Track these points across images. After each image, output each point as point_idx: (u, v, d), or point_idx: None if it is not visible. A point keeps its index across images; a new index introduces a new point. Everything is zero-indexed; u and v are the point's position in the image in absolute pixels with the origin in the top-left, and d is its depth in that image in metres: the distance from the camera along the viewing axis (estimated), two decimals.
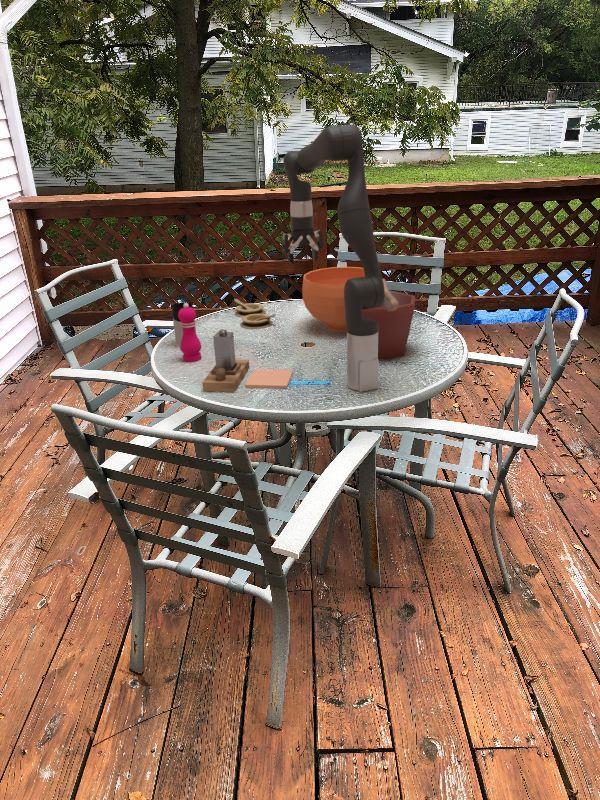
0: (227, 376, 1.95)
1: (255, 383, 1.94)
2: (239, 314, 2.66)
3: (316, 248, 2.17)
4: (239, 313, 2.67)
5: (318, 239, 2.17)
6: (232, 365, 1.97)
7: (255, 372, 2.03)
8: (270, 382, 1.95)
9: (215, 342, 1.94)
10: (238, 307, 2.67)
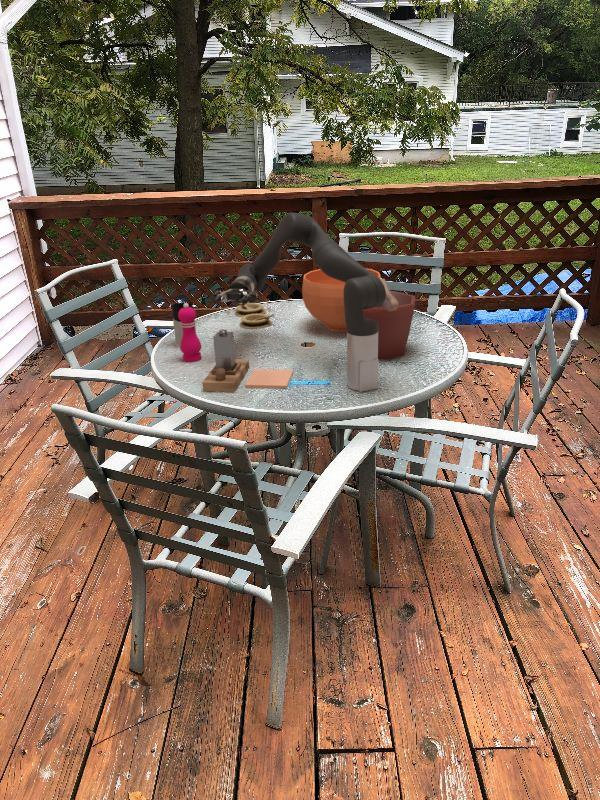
0: (227, 376, 1.95)
1: (255, 383, 1.94)
2: (239, 314, 2.66)
3: None
4: (239, 313, 2.67)
5: None
6: (232, 365, 1.97)
7: (255, 372, 2.03)
8: (270, 382, 1.95)
9: (215, 342, 1.94)
10: (238, 307, 2.67)
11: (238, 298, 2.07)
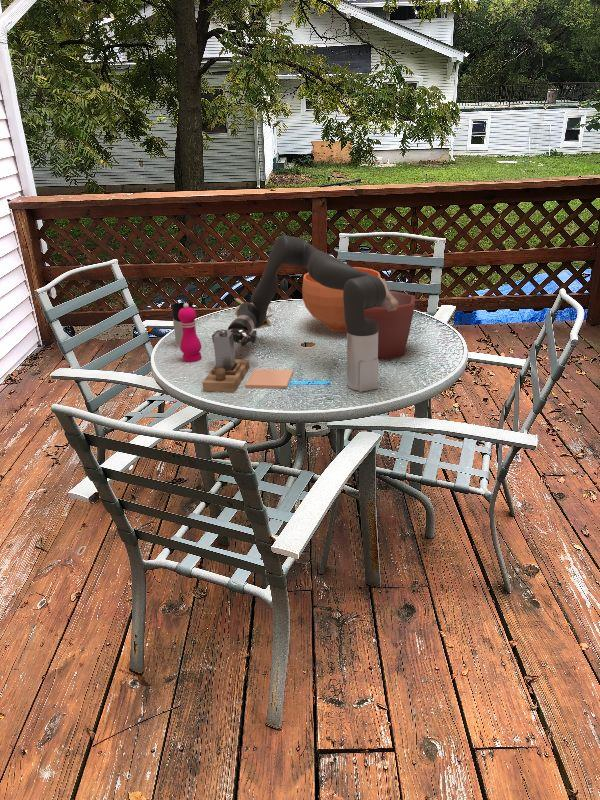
0: (227, 376, 1.95)
1: (255, 383, 1.94)
2: None
3: (246, 335, 2.05)
4: None
5: None
6: (232, 365, 1.97)
7: (255, 372, 2.03)
8: (270, 382, 1.95)
9: (215, 342, 1.94)
10: (238, 306, 2.68)
11: (238, 339, 2.08)
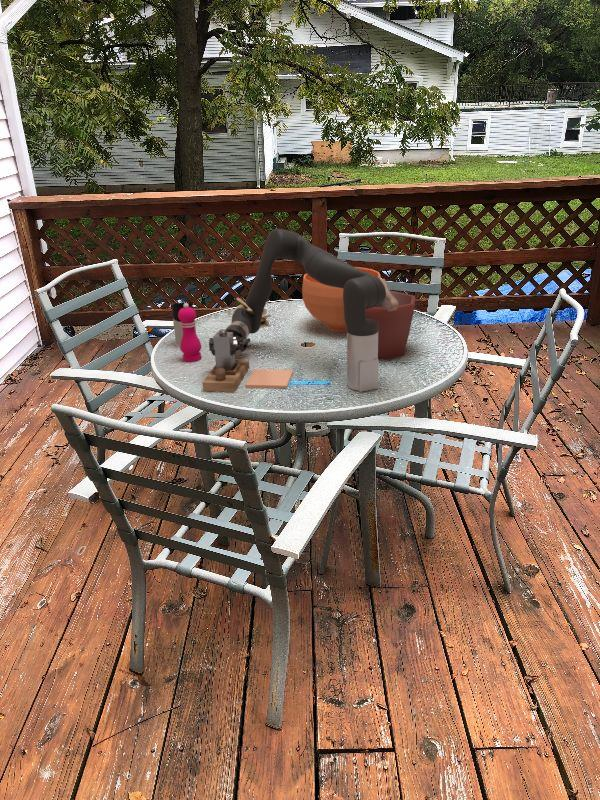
0: (227, 376, 1.95)
1: (255, 383, 1.94)
2: None
3: (235, 344, 1.98)
4: None
5: None
6: (232, 365, 1.97)
7: (255, 372, 2.03)
8: (270, 382, 1.95)
9: (215, 342, 1.94)
10: (239, 306, 2.68)
11: None
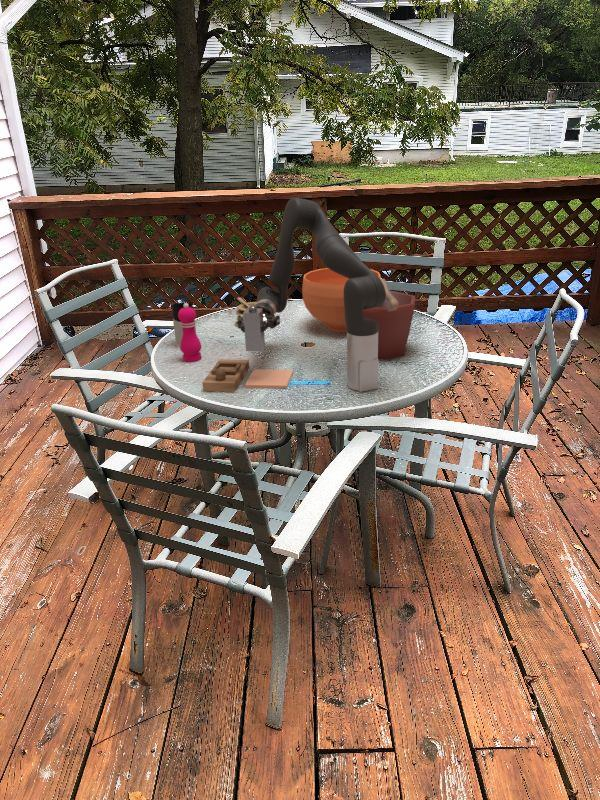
0: (227, 376, 1.95)
1: (255, 383, 1.94)
2: (239, 312, 2.67)
3: (264, 320, 1.93)
4: (240, 311, 2.69)
5: None
6: (262, 342, 1.92)
7: (255, 372, 2.03)
8: (270, 382, 1.95)
9: (245, 318, 1.88)
10: (239, 305, 2.69)
11: None
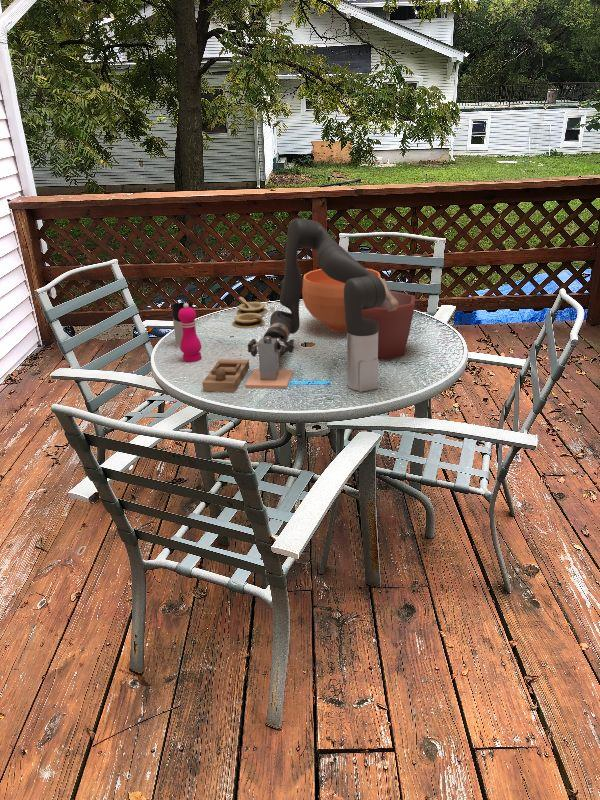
0: (227, 376, 1.95)
1: (255, 383, 1.94)
2: (240, 312, 2.68)
3: (283, 345, 1.96)
4: (241, 311, 2.70)
5: (289, 345, 1.99)
6: (276, 372, 1.96)
7: (255, 372, 2.03)
8: (270, 382, 1.95)
9: (260, 349, 1.92)
10: (240, 305, 2.70)
11: None
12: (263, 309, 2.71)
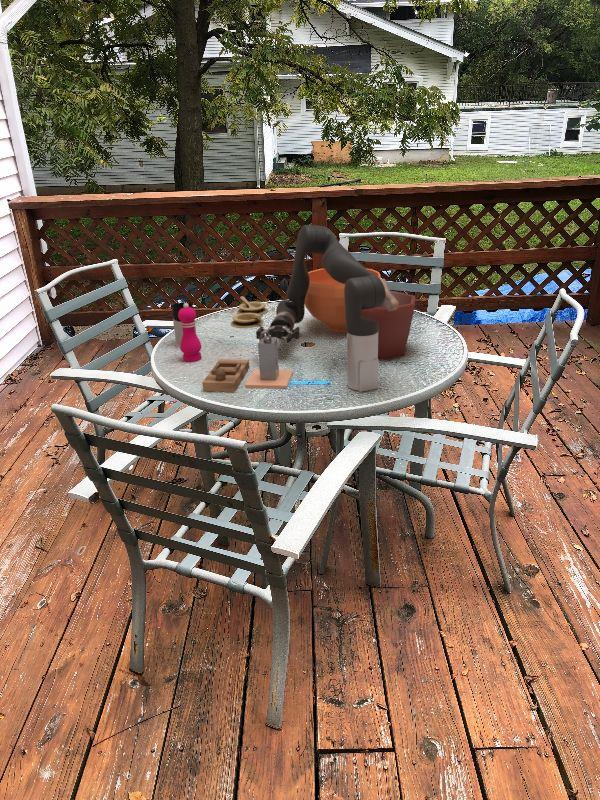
0: (227, 376, 1.95)
1: (255, 383, 1.94)
2: (240, 312, 2.69)
3: (290, 332, 2.08)
4: (241, 311, 2.70)
5: (295, 332, 2.10)
6: (276, 372, 1.96)
7: (255, 372, 2.03)
8: (270, 382, 1.95)
9: (260, 349, 1.92)
10: (241, 305, 2.70)
11: (281, 335, 2.10)
12: (264, 309, 2.71)
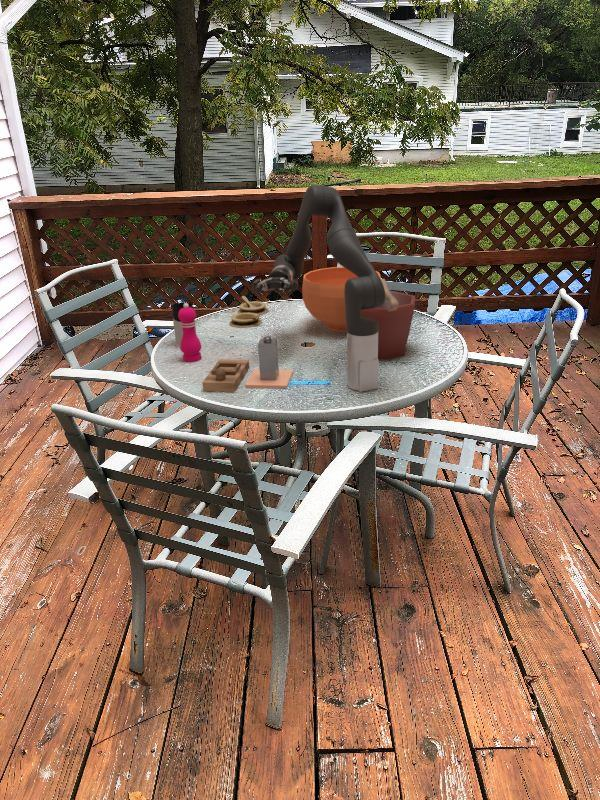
0: (227, 376, 1.95)
1: (255, 383, 1.94)
2: (241, 311, 2.69)
3: (288, 282, 2.01)
4: (242, 310, 2.71)
5: (293, 283, 2.04)
6: (276, 372, 1.96)
7: (255, 372, 2.03)
8: (270, 382, 1.95)
9: (260, 349, 1.92)
10: (242, 304, 2.71)
11: (279, 287, 2.04)
12: (264, 309, 2.71)
